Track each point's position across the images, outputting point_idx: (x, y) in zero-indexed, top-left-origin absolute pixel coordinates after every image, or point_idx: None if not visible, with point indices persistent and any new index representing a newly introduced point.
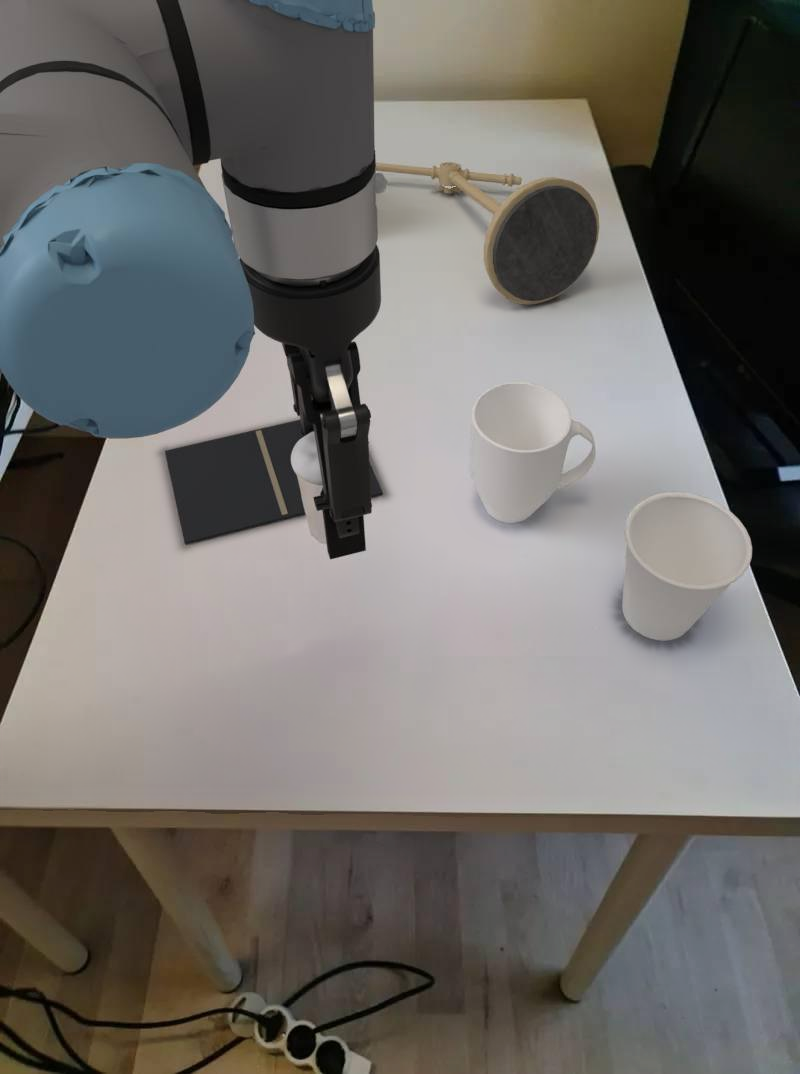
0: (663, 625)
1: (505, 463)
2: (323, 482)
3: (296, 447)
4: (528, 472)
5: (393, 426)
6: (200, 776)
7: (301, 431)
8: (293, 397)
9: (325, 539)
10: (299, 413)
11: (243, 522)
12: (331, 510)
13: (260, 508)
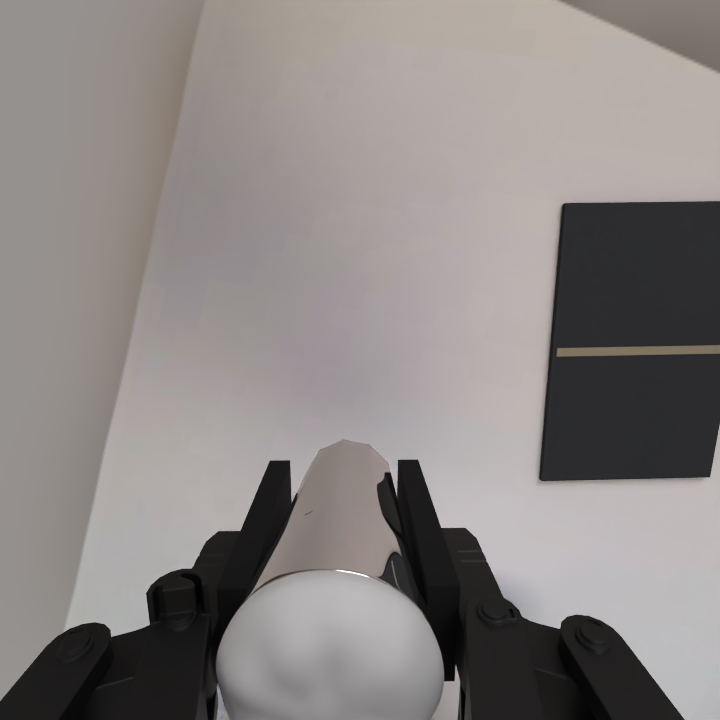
0: (224, 711)
1: (456, 706)
2: (170, 677)
3: (369, 630)
4: (436, 716)
5: (648, 523)
6: (202, 166)
7: (489, 615)
8: (636, 661)
9: (309, 468)
10: (562, 641)
11: (566, 293)
12: (64, 658)
13: (581, 321)
